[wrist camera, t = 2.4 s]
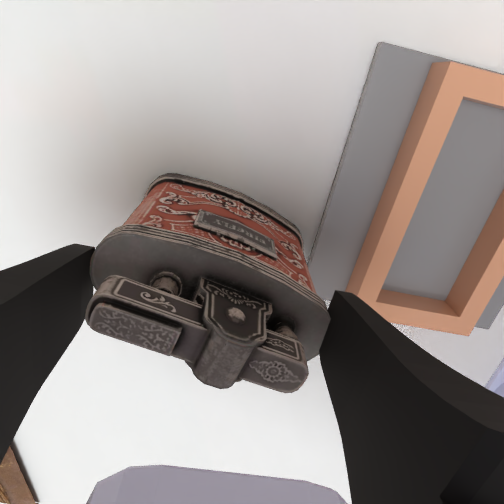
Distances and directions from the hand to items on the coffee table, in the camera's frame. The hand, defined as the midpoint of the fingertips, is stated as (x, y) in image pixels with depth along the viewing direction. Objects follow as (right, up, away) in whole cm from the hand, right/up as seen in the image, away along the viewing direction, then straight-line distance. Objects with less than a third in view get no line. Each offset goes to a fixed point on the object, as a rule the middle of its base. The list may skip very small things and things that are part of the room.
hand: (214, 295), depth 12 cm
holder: (+10, +4, +6) cm, 13 cm away
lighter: (0, +3, +7) cm, 7 cm away
